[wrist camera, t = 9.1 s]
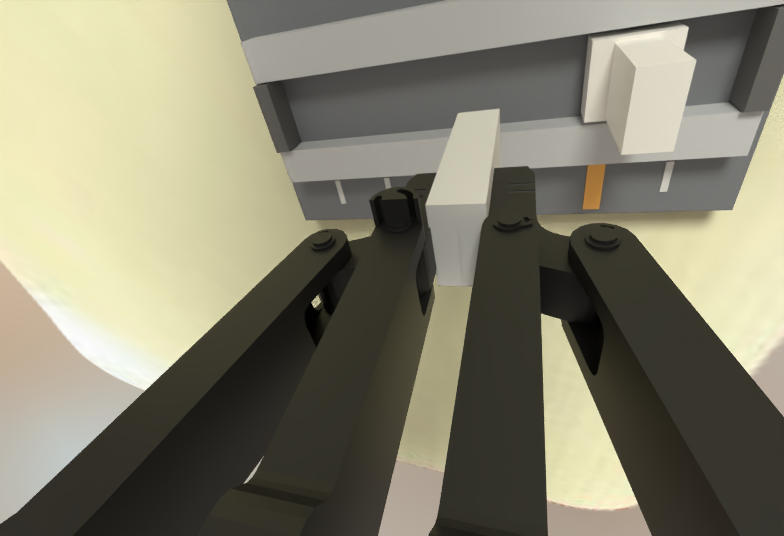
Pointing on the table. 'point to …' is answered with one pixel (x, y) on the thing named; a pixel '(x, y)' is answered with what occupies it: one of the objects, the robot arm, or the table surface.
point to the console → (501, 96)
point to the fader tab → (638, 85)
